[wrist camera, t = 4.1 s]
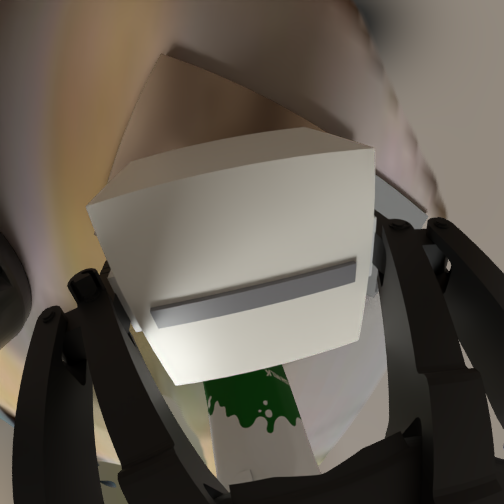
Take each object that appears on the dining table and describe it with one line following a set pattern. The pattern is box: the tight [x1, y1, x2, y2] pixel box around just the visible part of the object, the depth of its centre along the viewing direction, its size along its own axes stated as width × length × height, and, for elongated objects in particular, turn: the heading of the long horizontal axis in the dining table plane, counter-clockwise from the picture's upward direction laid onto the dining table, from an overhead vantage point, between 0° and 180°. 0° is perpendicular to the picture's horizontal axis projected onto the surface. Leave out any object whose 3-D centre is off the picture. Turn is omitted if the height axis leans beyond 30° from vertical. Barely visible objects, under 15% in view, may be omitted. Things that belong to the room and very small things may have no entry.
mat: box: [366, 174, 428, 297], centre depth 26 cm, size 11×11×1 cm
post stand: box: [94, 54, 327, 236], centre depth 15 cm, size 16×14×12 cm
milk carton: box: [203, 364, 321, 492], centre depth 23 cm, size 9×9×20 cm
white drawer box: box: [86, 127, 375, 386], centre depth 12 cm, size 8×8×6 cm
